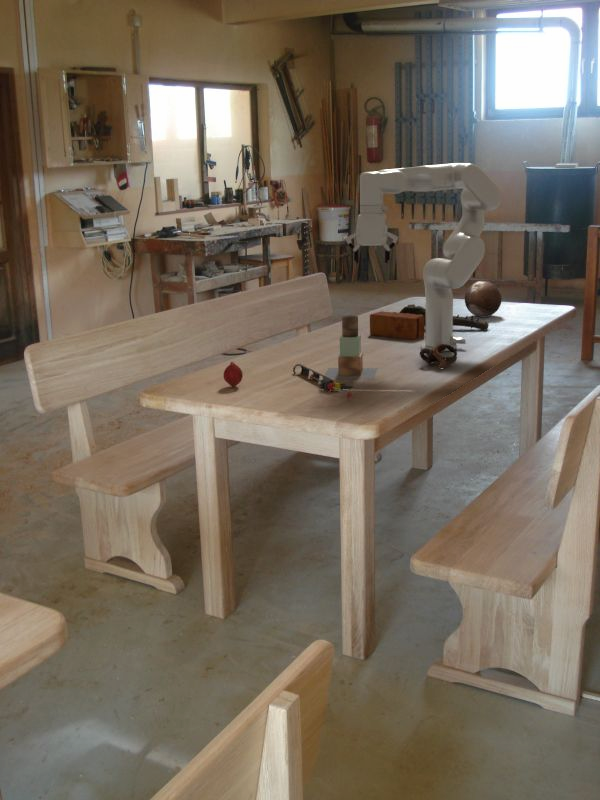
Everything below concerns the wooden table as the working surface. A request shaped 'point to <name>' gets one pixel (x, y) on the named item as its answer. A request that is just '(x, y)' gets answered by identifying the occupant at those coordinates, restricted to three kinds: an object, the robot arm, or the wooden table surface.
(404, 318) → the brick
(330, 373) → the mat
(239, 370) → the onion
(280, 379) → the wooden table surface
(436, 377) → the wooden table surface
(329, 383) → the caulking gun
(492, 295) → the wooden sphere
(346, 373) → the tower base
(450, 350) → the pottery mug
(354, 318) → the dowel
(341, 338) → the tower mid
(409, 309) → the wooden club
